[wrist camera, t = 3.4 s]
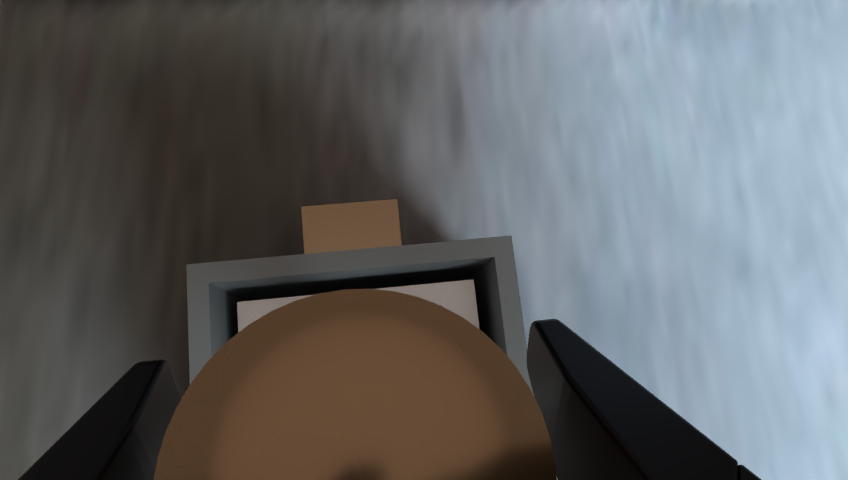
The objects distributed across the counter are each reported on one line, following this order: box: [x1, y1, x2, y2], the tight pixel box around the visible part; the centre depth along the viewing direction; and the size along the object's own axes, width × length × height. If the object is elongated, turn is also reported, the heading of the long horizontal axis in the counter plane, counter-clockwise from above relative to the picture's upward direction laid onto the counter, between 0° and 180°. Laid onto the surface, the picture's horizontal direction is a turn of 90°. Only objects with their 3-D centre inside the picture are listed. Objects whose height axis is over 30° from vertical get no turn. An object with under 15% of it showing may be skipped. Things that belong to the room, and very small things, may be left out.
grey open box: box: [186, 199, 533, 393], centre depth 17 cm, size 9×8×6 cm
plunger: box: [154, 279, 557, 480], centre depth 11 cm, size 6×6×9 cm
